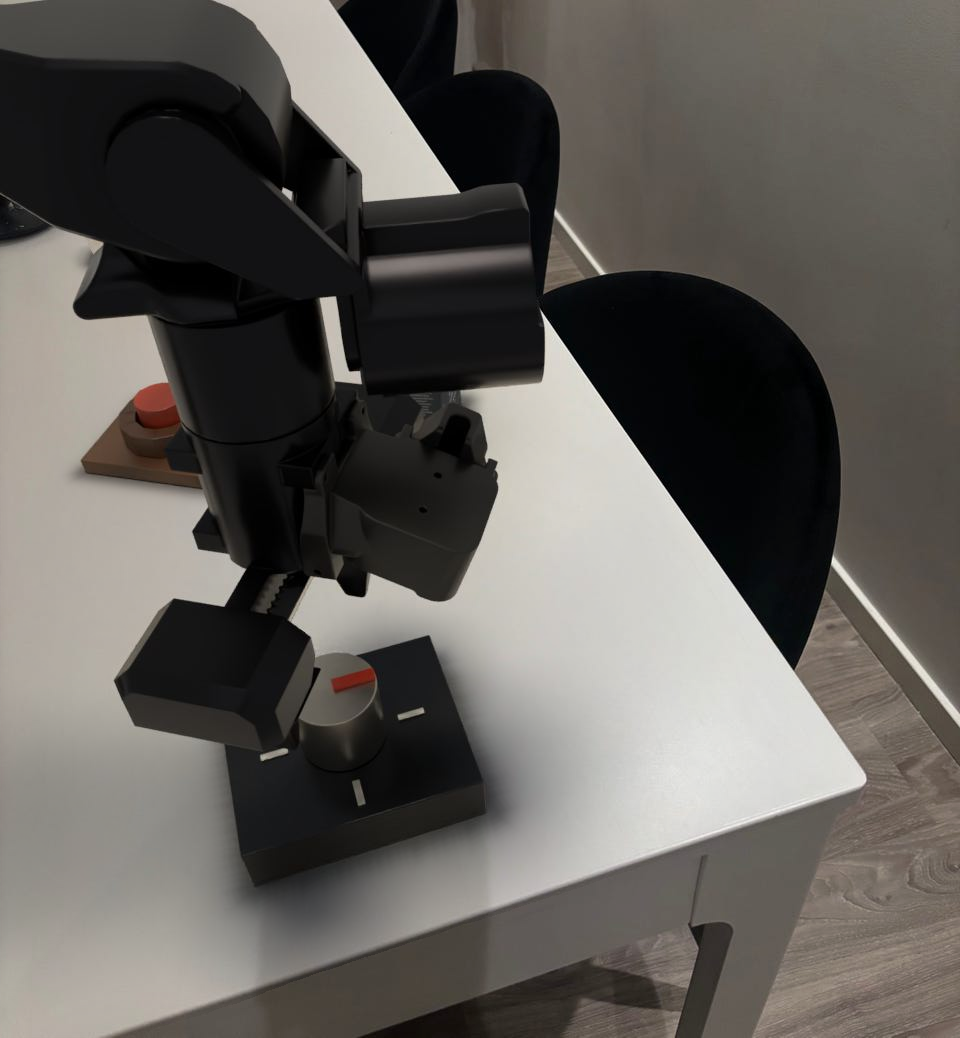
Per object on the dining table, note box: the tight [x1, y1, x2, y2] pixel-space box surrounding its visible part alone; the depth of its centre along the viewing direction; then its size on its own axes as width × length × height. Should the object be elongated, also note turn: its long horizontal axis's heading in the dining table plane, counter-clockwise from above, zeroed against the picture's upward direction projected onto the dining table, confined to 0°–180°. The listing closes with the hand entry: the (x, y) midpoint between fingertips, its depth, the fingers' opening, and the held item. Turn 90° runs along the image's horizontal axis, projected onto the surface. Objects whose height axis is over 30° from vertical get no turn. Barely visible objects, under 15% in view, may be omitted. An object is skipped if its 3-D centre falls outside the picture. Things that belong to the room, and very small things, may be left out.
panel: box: [223, 634, 487, 887], centre depth 51 cm, size 12×10×3 cm
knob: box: [299, 652, 386, 771], centre depth 48 cm, size 4×4×4 cm
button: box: [133, 382, 181, 429], centre depth 71 cm, size 4×4×2 cm
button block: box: [80, 389, 202, 489], centre depth 72 cm, size 10×9×3 cm
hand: (324, 664), depth 46 cm, fingers open, 9 cm apart
